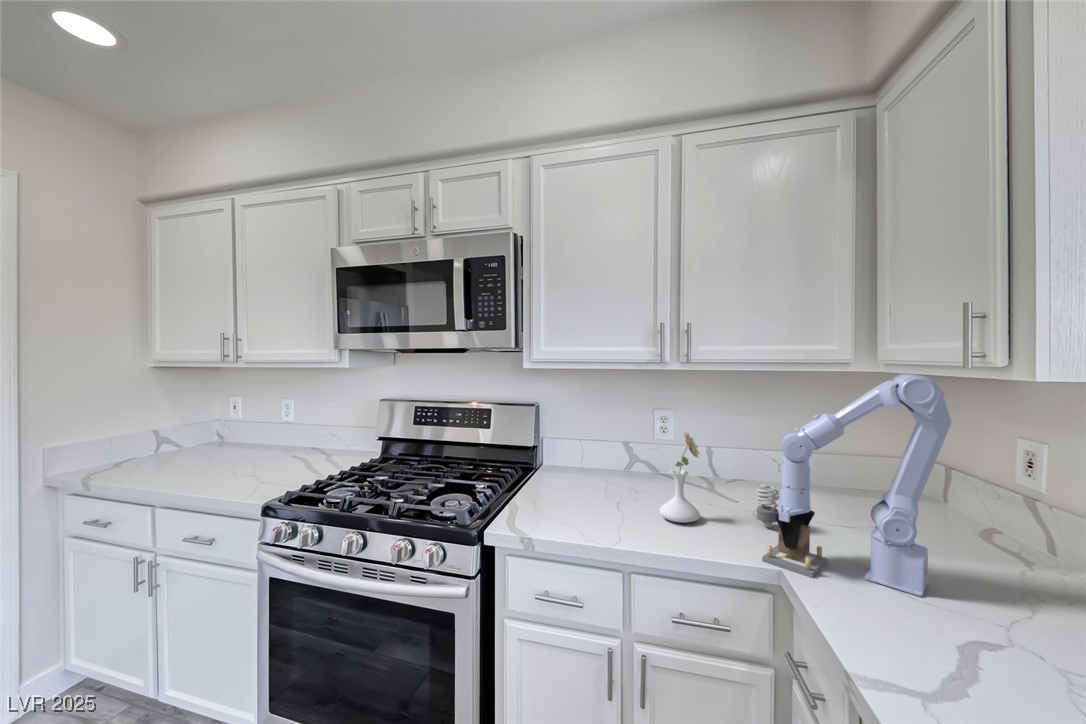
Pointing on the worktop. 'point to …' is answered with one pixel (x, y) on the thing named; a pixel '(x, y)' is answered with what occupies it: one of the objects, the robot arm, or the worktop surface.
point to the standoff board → (796, 561)
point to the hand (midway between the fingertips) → (794, 544)
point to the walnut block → (802, 544)
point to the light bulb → (767, 512)
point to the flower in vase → (681, 491)
